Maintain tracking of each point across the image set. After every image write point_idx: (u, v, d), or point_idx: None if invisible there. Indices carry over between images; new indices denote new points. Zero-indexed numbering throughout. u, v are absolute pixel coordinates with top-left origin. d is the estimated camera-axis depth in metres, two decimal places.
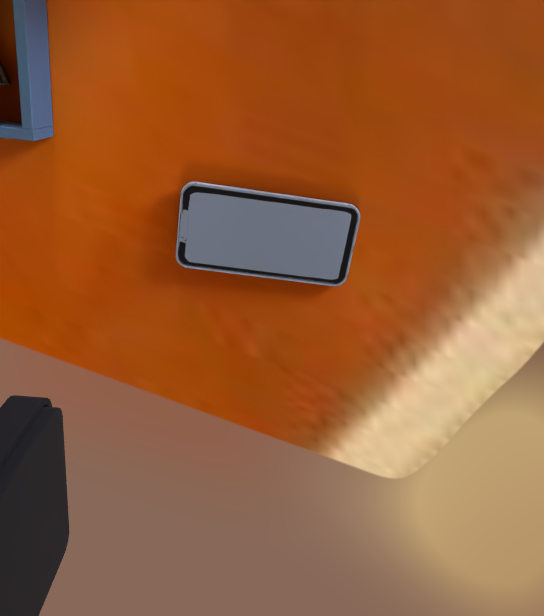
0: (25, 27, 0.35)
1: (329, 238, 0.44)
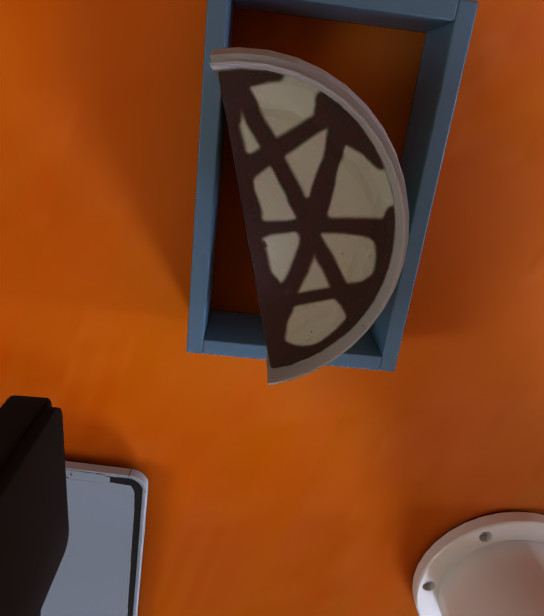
0: (331, 365, 0.26)
1: (92, 612, 0.37)
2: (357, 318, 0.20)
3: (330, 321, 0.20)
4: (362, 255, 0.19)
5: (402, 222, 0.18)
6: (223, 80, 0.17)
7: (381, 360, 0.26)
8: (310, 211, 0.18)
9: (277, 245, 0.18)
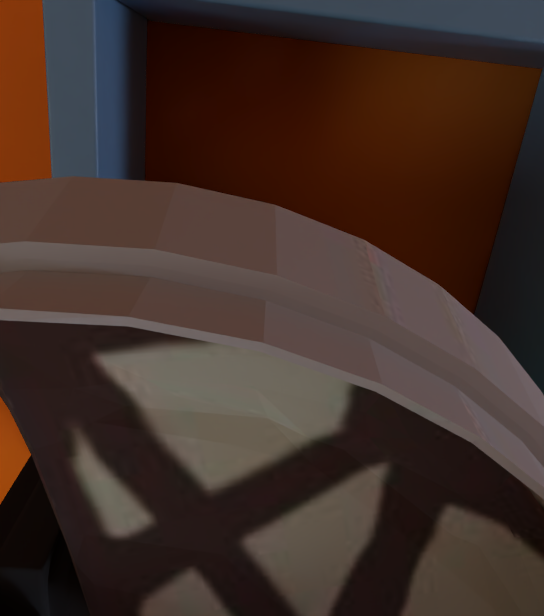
0: None
1: None
2: None
3: None
4: None
5: None
6: None
7: None
8: None
9: None
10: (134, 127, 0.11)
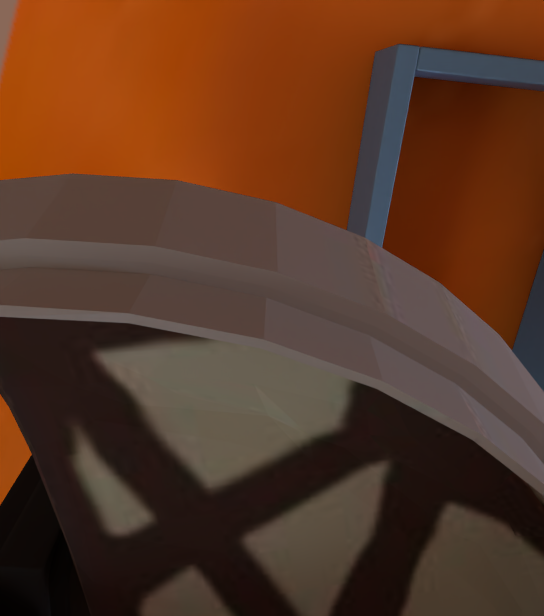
0: None
1: None
2: None
3: None
4: None
5: None
6: None
7: None
8: None
9: None
10: None
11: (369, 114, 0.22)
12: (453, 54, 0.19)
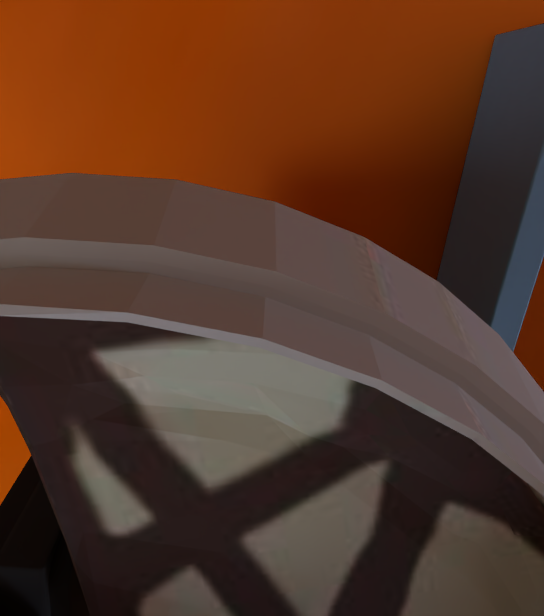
0: None
1: None
2: None
3: None
4: None
5: None
6: None
7: None
8: None
9: None
10: None
11: (484, 135, 0.14)
12: None
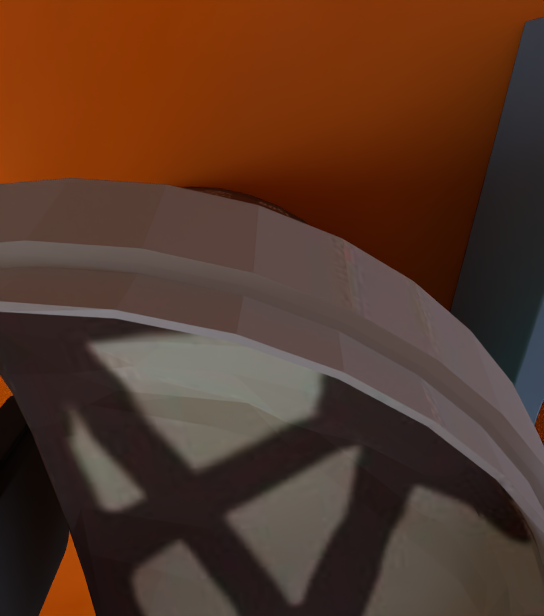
0: None
1: None
2: None
3: None
4: None
5: None
6: None
7: None
8: None
9: None
10: None
11: (513, 137, 0.12)
12: None
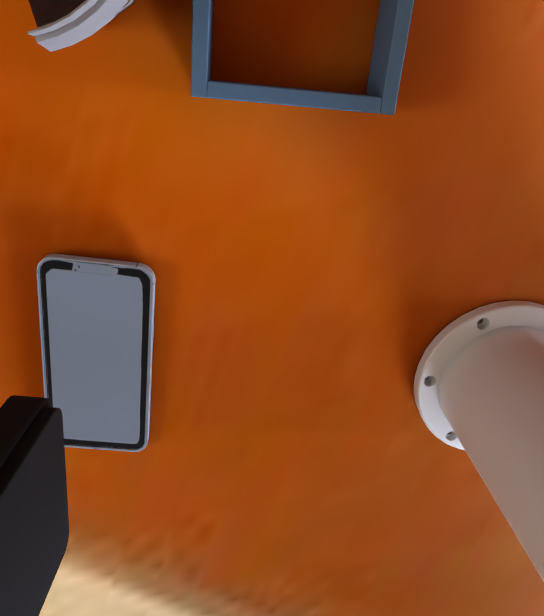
0: (333, 108, 0.27)
1: (105, 426, 0.38)
2: None
3: None
4: None
5: None
6: None
7: (381, 101, 0.27)
8: None
9: None
10: None
11: None
12: None
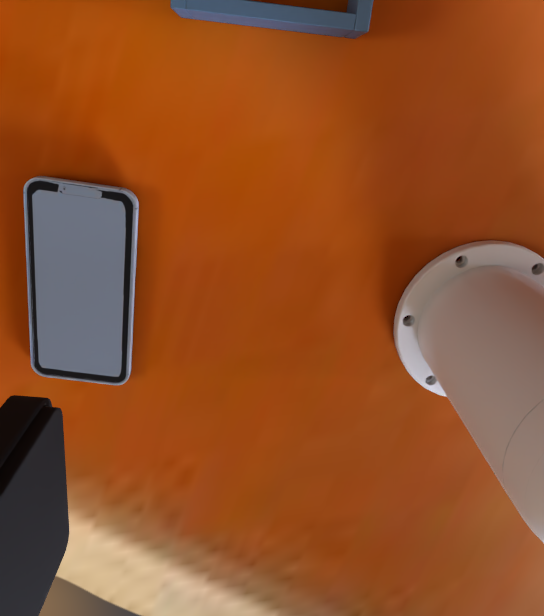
0: (308, 23, 0.28)
1: (88, 356, 0.39)
2: None
3: None
4: None
5: None
6: None
7: (355, 17, 0.28)
8: None
9: None
10: None
11: None
12: None
